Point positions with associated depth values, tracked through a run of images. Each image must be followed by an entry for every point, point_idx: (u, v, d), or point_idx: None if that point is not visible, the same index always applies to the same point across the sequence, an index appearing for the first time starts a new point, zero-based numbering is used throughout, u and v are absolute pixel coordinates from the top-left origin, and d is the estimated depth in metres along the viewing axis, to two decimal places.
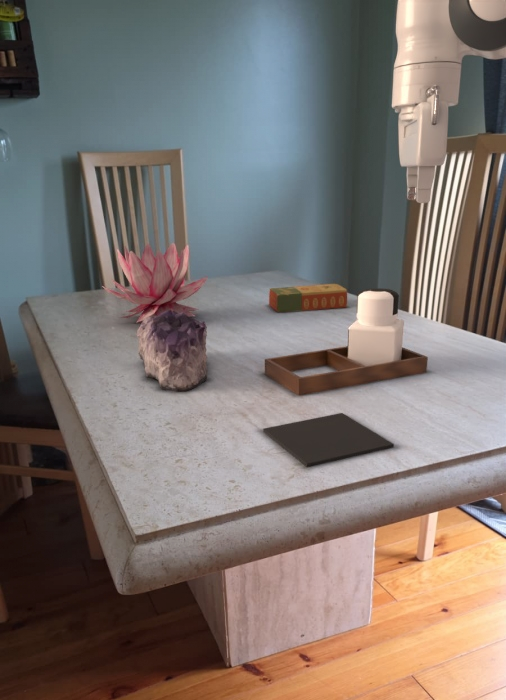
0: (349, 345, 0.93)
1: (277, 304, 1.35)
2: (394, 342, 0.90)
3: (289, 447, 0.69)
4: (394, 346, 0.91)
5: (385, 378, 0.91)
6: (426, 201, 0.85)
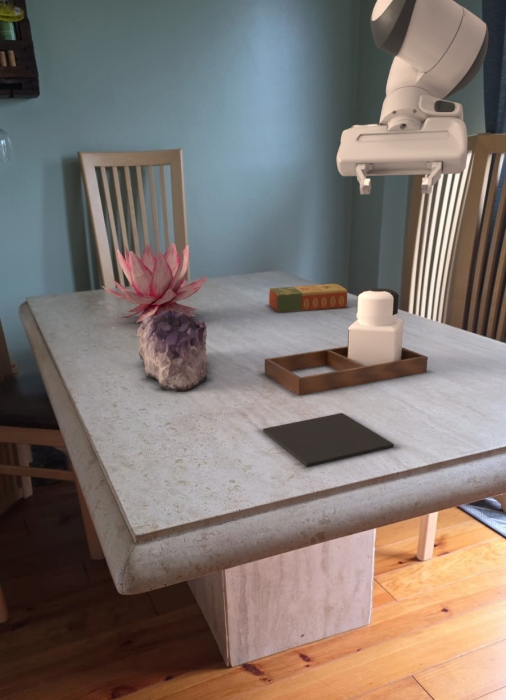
0: (349, 345, 0.93)
1: (277, 304, 1.35)
2: (394, 342, 0.90)
3: (289, 447, 0.69)
4: (394, 346, 0.91)
5: (385, 378, 0.91)
6: None
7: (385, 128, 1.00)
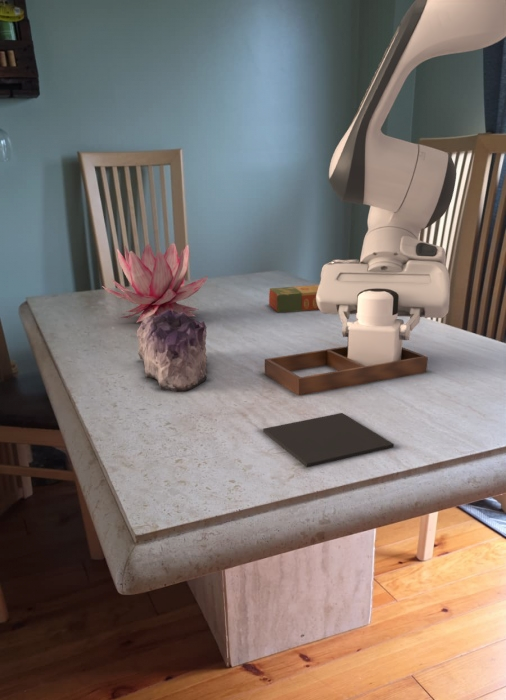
0: (348, 345, 0.93)
1: (277, 304, 1.35)
2: (394, 342, 0.90)
3: (289, 447, 0.69)
4: (394, 346, 0.91)
5: (385, 378, 0.91)
6: (342, 332, 0.95)
7: (366, 268, 0.97)
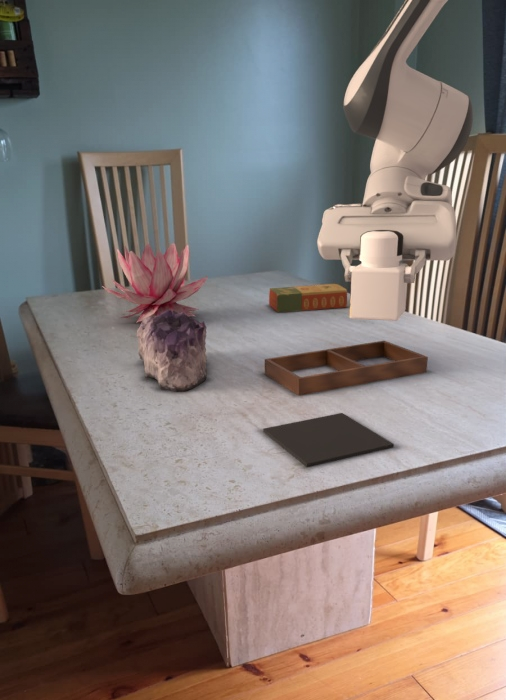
0: (351, 289, 0.89)
1: (277, 304, 1.35)
2: (398, 283, 0.87)
3: (289, 447, 0.69)
4: (398, 288, 0.87)
5: (385, 378, 0.91)
6: None
7: (369, 210, 0.93)
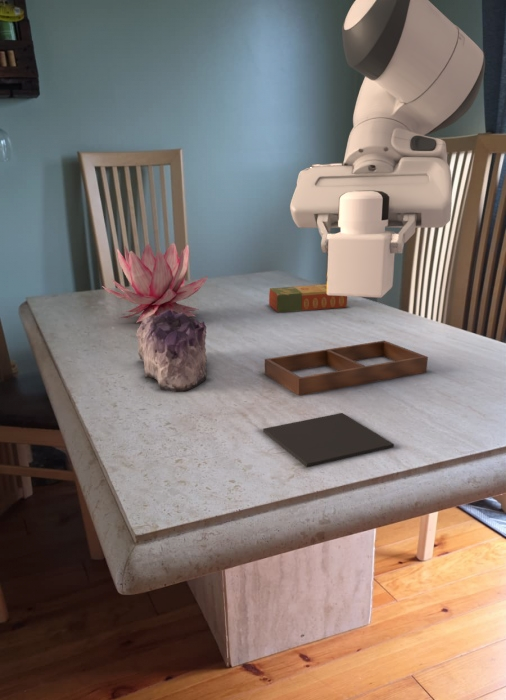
0: (328, 260, 0.76)
1: (277, 304, 1.35)
2: (383, 253, 0.74)
3: (289, 447, 0.69)
4: (383, 258, 0.74)
5: (385, 378, 0.91)
6: (321, 246, 0.78)
7: (350, 170, 0.80)
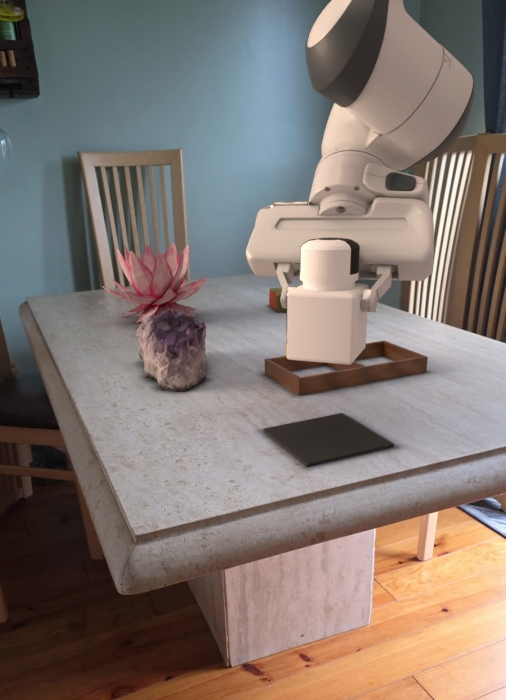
0: (288, 320, 0.64)
1: (277, 304, 1.35)
2: (352, 314, 0.62)
3: (289, 447, 0.69)
4: (352, 320, 0.62)
5: (385, 378, 0.91)
6: (280, 301, 0.66)
7: (316, 210, 0.68)
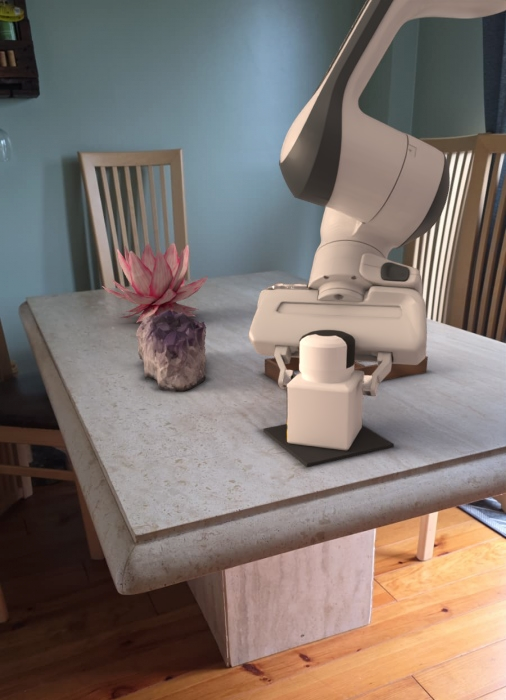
0: (288, 408, 0.68)
1: None
2: (348, 406, 0.66)
3: (289, 447, 0.69)
4: (348, 411, 0.66)
5: (385, 378, 0.91)
6: None
7: (315, 295, 0.72)
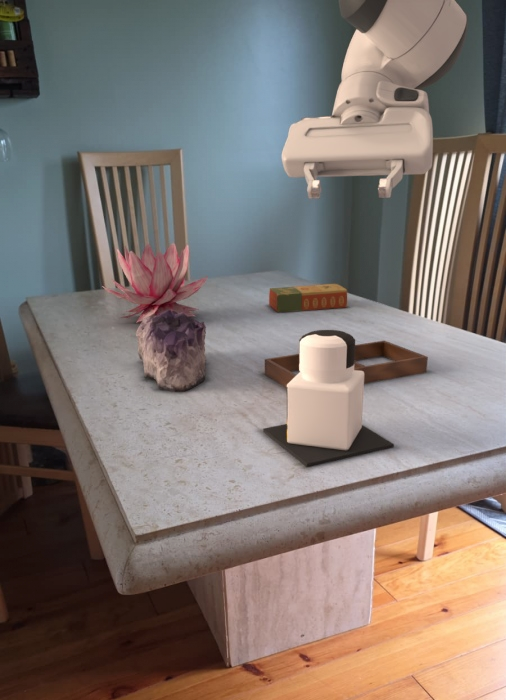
0: (288, 408, 0.68)
1: (277, 304, 1.35)
2: (348, 406, 0.66)
3: (289, 447, 0.69)
4: (348, 411, 0.66)
5: (385, 378, 0.91)
6: None
7: (338, 121, 0.85)
